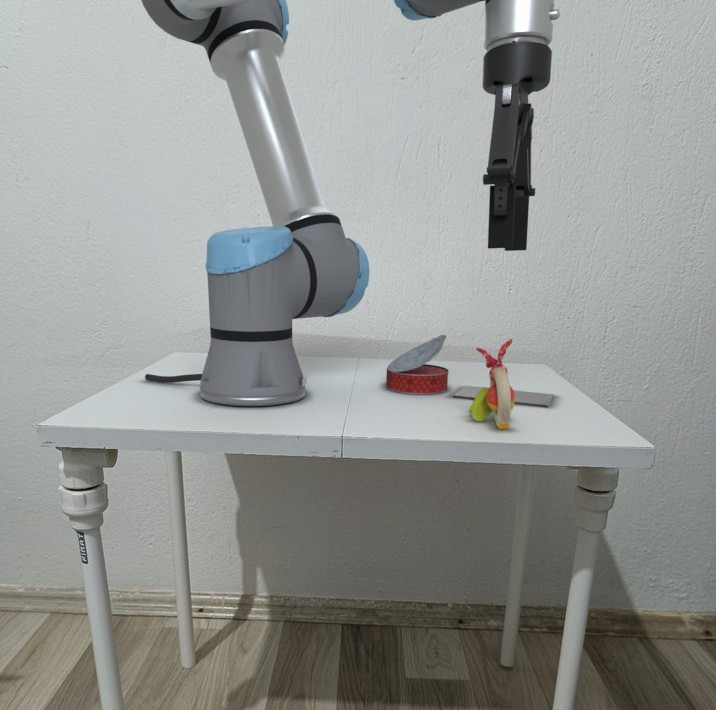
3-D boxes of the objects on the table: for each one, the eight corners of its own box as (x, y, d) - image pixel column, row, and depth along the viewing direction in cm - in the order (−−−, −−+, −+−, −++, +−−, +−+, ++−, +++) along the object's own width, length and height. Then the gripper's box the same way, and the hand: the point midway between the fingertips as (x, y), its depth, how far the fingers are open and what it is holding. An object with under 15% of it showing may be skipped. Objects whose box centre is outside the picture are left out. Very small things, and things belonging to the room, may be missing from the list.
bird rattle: (524, 444, 85) (508, 401, 91) (545, 371, 77) (526, 331, 84) (476, 445, 84) (463, 401, 91) (492, 371, 77) (477, 330, 83)
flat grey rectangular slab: (453, 397, 100) (453, 395, 100) (464, 387, 107) (465, 385, 107) (547, 407, 96) (548, 405, 95) (553, 396, 103) (554, 394, 102)
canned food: (433, 423, 103) (430, 372, 96) (376, 407, 108) (370, 357, 100) (462, 379, 110) (461, 329, 102) (407, 366, 114) (403, 317, 107)
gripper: (542, 5, 62) (529, 245, 68) (559, 74, 84) (548, 250, 91) (462, 16, 64) (457, 248, 71) (500, 80, 87) (493, 252, 93)
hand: (508, 249), depth 81 cm, fingers open, 13 cm apart
